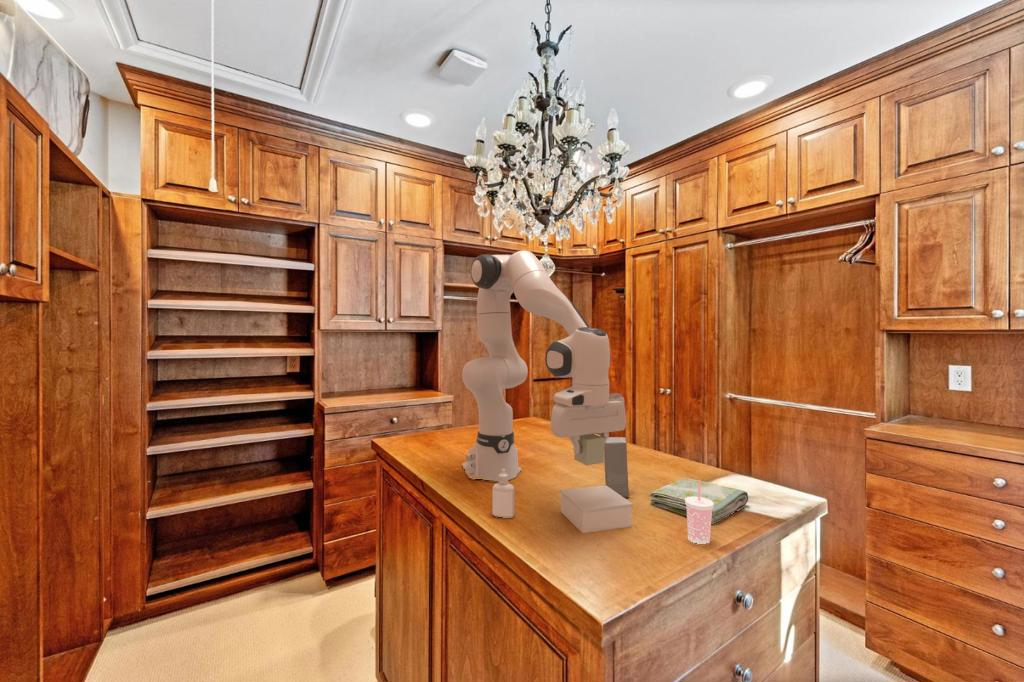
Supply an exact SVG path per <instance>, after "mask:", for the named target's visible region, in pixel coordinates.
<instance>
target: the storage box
mask: <svg viewBox="0 0 1024 682" xmlns="http://www.w3.org/2000/svg"><path fill="white" fill-rule="evenodd" d="M559 494H560V503H561V504H560V512H561V513H562V514H563V515H564V516H565V518H567V519H568V520H569V522H571V524H573V525H574V526H575V527H576V528H577V530H579V532H580V533H582V534H588V533H594V532H602V531H608V530H609V531H610V530H617V529H623V528H624V529H626V528H631V527H632V508H633V507H634V506H633V505H634V504H633V502H631V501H630V500H628V499H626V497H622V496H621V495H619V494H618V493H616V492H615V491H614V490H612V489H611V488H609V487H608V486H606V484H605V485H596V486H586V487H576V488H568V489H560V493H559Z"/></svg>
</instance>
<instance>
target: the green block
mask: <svg viewBox="0 0 1024 682" xmlns="http://www.w3.org/2000/svg"><path fill="white" fill-rule="evenodd" d="M600 436H601V435H599V434H598V435H597V434H588V435H580V439H579V440H578V443H579V445H580V446H583V453H580V454H576V453H574V460H575V461H577V462H579V463H581V464H582V465H585V466H591V465H598V464H604V438H603V437H600Z"/></svg>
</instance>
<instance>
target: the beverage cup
mask: <svg viewBox="0 0 1024 682" xmlns="http://www.w3.org/2000/svg"><path fill="white" fill-rule="evenodd" d="M700 492H701V479H700V478H699V479H698V497H687V498H685V504H686V508H687V516H686V523H687V524H686V525H687V526H686V527H687V540H688V541H689V540H690V541H691V542H690V541H689V542H690V543H692V542H693V544H694V543H697V544H696V545H698V544H706V543H709V544H710V540H711V539H710V538H711V528H712V525H711V519H712V509H713V508H714V507H713V506H714V503H713V502H712V501H711V500H709V499H707V498H703V497H700Z"/></svg>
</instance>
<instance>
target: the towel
mask: <svg viewBox="0 0 1024 682" xmlns="http://www.w3.org/2000/svg"><path fill="white" fill-rule="evenodd" d="M748 495H749V494H748V492H747V491H745V490H742V489H739V488H735V487H729V486H724V485H721V484H716V483H710V482H707V481H703V480H702V481H701V492H700V497H703V498H707V499H709V500H711V501H712V502H713V503H714V506H713V507H714V508H713V509H712V519H711V524H713V525H715V524H717V523H719V522H721V521H722V520H721V519H723V518H725V517H726V516H728V515H730V514H731V513H733V512H735V511H737V510H739V509H741V510H742V509H744V508H745V506H746V505H747V503H748V501H749V496H748ZM649 497H650V498H651V500H650V504H651V505H653V506H655V507H657V508H661V509H664V510H667V511H671V512H674V513H677V514H679V515H682V516H686V517H687V508H686V504H685V498H687V497H698V480H697V479H692V478H688V477H687V478H686V477H684V478H681V479H679V480H677V481H675V482H671V483H669V484H667V485H664V486H661V487H659V488H658V489H655V490H653V491H652V492H651V493H650V494H649ZM739 511H740V510H739ZM730 516H731V515H730ZM728 517H729V516H728ZM726 518H727V517H726ZM726 518H725V519H726ZM720 520H721V521H720ZM723 520H724V519H723ZM718 521H719V522H718ZM716 522H717V523H716ZM714 523H715V524H714Z"/></svg>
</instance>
